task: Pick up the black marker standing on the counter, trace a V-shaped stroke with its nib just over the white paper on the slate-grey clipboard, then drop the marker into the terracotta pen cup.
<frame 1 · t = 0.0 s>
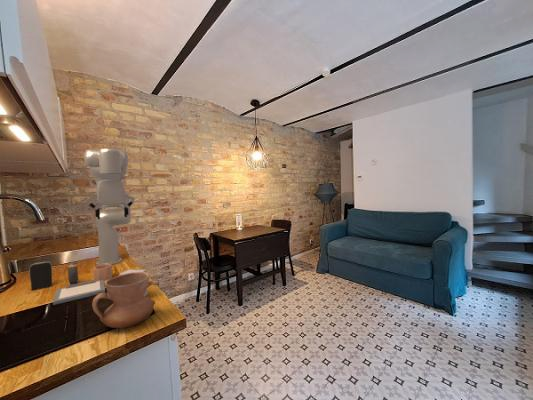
hand: (112, 217, 97), 31 cm above the counter, tool pointing down, fingers open, 9 cm apart
marker: (73, 284, 103), on the counter
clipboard: (81, 292, 95), on the counter
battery: (42, 287, 101), on the counter
small box: (134, 298, 90), on the counter
pen cup: (103, 278, 109), on the counter
ceramic jug: (128, 321, 74), on the counter
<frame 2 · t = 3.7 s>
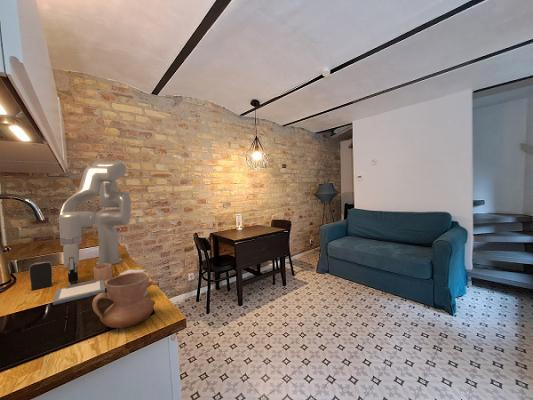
hand: (73, 279, 103), 2 cm above the counter, tool pointing down, fingers closed on marker, 3 cm apart
marker: (73, 284, 103), on the counter, touching gripper
everything else where it was.
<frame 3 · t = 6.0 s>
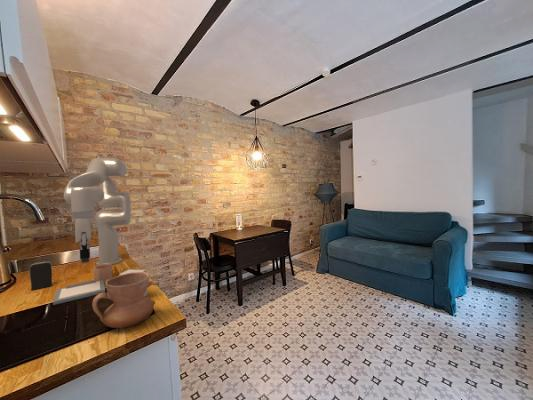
hand: (85, 257, 98), 14 cm above the counter, tool pointing down, fingers closed on marker, 3 cm apart
marker: (85, 262, 98), point 12 cm above the counter, touching gripper
everything else where it was.
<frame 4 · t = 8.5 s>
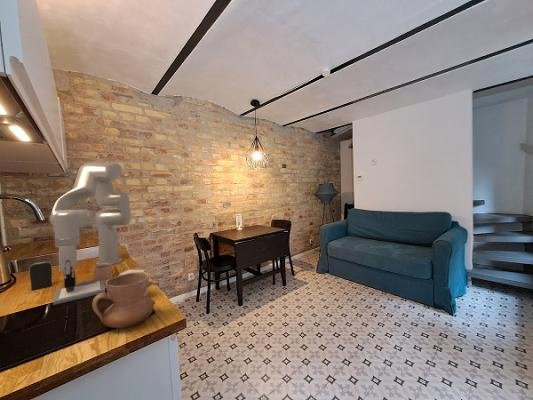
hand: (70, 285, 93), 4 cm above the counter, tool pointing down, fingers closed on marker, 3 cm apart
marker: (70, 290, 93), point 2 cm above the counter, touching gripper
everything else where it was.
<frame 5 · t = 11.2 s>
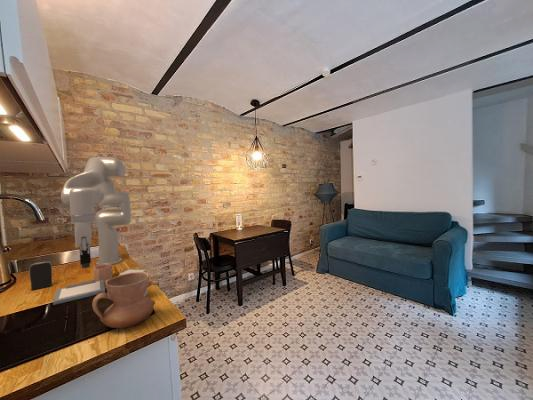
hand: (85, 261, 93), 14 cm above the counter, tool pointing down, fingers closed on marker, 3 cm apart
marker: (85, 267, 93), point 11 cm above the counter, touching gripper
everything else where it was.
when the fingers open (7 cm above the counter, at t = 13.7 s): marker drops 4 cm, resting on pen cup.
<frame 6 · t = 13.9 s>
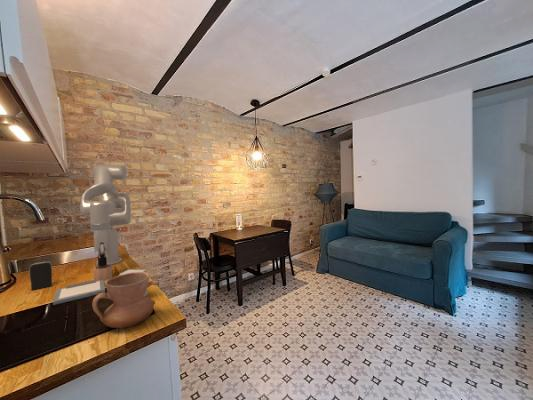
hand: (102, 263, 109), 7 cm above the counter, tool pointing down, fingers open, 5 cm apart
marker: (103, 277, 109), point 1 cm above the counter, touching gripper, pen cup
everything else where it was.
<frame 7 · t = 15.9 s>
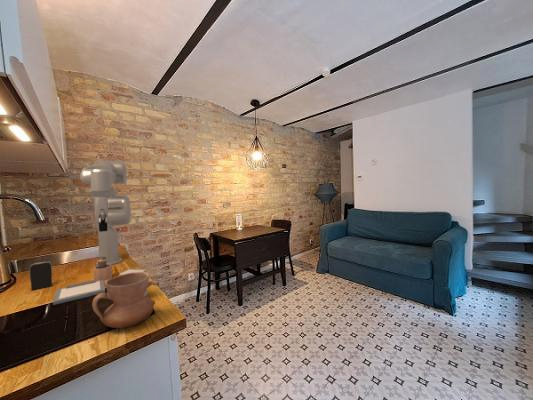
hand: (103, 229, 109), 24 cm above the counter, tool pointing down, fingers open, 9 cm apart
marker: (103, 277, 109), point 1 cm above the counter, touching pen cup
everything else where it was.
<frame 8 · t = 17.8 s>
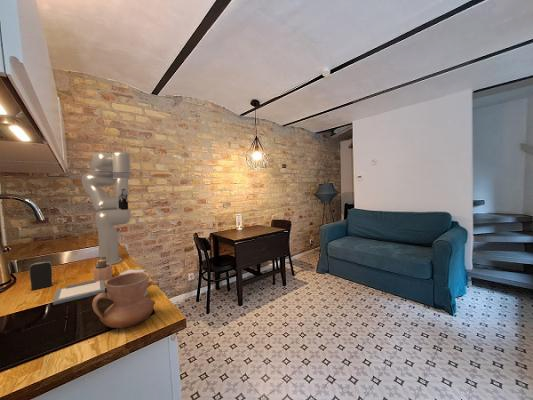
hand: (123, 209, 117), 33 cm above the counter, tool pointing down, fingers open, 9 cm apart
nothing on the counter moved.
at the end: marker 0.1 cm from the pen cup (horizontally); marker point 0.5 cm above the counter; the gripper is holding nothing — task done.
